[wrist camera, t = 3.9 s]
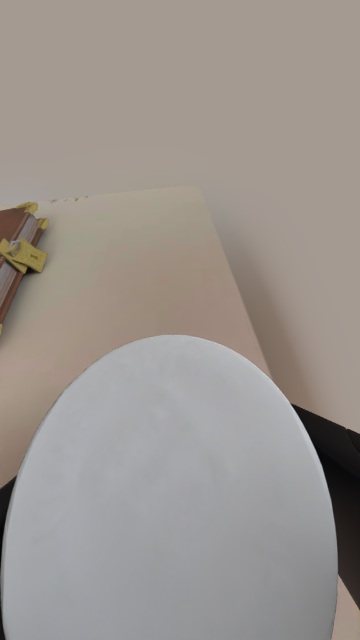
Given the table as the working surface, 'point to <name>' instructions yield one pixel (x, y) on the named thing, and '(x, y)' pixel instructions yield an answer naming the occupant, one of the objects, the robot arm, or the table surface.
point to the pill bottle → (170, 507)
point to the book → (18, 249)
